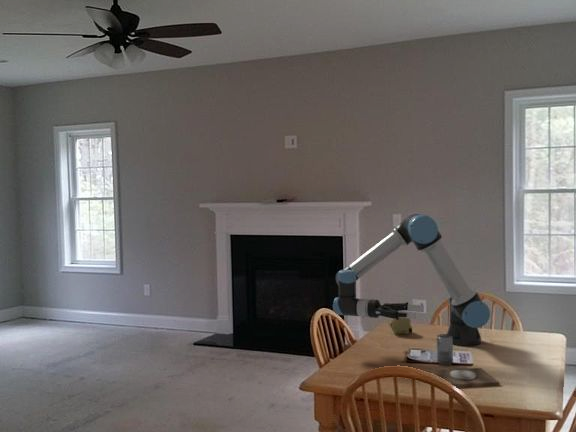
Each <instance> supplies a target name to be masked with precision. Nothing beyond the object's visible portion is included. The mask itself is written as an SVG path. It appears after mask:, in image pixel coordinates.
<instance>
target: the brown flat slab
mask: <svg viewBox="0 0 576 432" xmlns="http://www.w3.org/2000/svg"><path fill="white" fill-rule="evenodd" d="M429 372H430V373H433V374H435V375H437V376H439V377H441V378H443V379H445V380H446V381H448V382H450V383H451V384H452V385H454V386H456V387H458V388H457V389H460V388H476V387H477V388H478V387H479V388H480V387H496V386H500V381H499V380H497V379H496V378H495V377H494V376H492V375H490V374H489V373H488V372H487V371H485V370H484V369H483V368H482V367H476V368H475V367H474V368H453V369H450V368H449V369H433V370H432V369H431V370H428V373H429Z"/></svg>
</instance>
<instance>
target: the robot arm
mask: <svg viewBox="0 0 576 432" xmlns="http://www.w3.org/2000/svg"><path fill="white" fill-rule="evenodd" d="M442 239H443V235H442V234H441V233H440V231H439V226H438V224H437V222H436V221H435V219H434V218H432V217H431V216H430V215H426V214H418V213H415V214H414V213H413V214H411V215H409V216H407V217H406V218H405V219H403V220H402V221H401V222H400V223H399V224H397V225H396V226H395V227H394V228H392V231H391V233H390V234H388V235H387V236H386V237H384V238H383V239H382V240H380V241H379V242H378V243H376V244H374V245H373V246H372V247H371V248H369V249H368V250H367V251H366V252H365V253H363V254H362V255H360V257H358V258H356V259H355V260H353V262H351V263H350V264H348V266H346V267H345V268H343V269H340V270H339V271H338V272H337V273H336V274H335V283H336V284H337V286H338V296H337V297H335V298H334V300H333V302H332V303H333V304H332V311H333V312H334V313H335V315H341V316H345V317H346V316H350V317H361V319H364V318H368V317H369V318H373V319H374V318H375V319H378V318H379V317H384V318H389V319H390V318H393V319H396V320H399V318H408V319H410V320H412V319H413V320H416V319H417V317H416V316H417V314H416V313H417V312H418V313H424V312H425V310H424V309H425V308H424V305H421V304H409V302H402V303H394V302H393V303H387V302H386V303H383V304H381V302H380V300H379V299H369V298H357V281H358V280H359V279H361V277H362V278H363V276H364V275H366V274H368V272H369V271H371V270H372V269H373V268H375V267H377V266H379V264H380V263H382V262H383V261H384V260H386V259H387V258H388V257H390V256H391V255H392V254H394V253H395V252H397V251H398V250H399V249H401V248H402V247H403V246H406V247H407V246H408V245H410V244H411V243H413V245H414V246H415V247H416V249H417V250H418V251H419V252H421V253H423V254H424V255H425V257H426V260H427V261H428V262H429V264H430V265H431V266H432V269H433V270H434V272H435V273H436V275H437V276H438V277H439V279H440V281H441V283H442V285H443V286H444V287H445V289H446V291H447V292H448V294H449V297H448V300H449V302H448V303H449V326H448V330H447V331H446V334H448V335H451V336H452V337H453V345H456V346H460V347H461V346H464V347H467V346H468V347H470V346H478V345H481V343H482V337H481V334H480V331H479V328H482V327H484V326H485V325H486V324H487V323H488V322H489V320H490V317H491V309H490V308H489V306H488V305H487V303H486V302H484V301H483V300H482V298H481V297H480V296H479V294H478V292H477V290H475V289H472V288H471V287H470V286H469V284H468V283H467V281H466V279H465V277H464V276H463V275H462V273H461V271H460V270H459V269H458V267H457V265H456V264H455V262H454V260H453V259H452V257H451V255H450V254H449V252H448V250H447V249H446V248H445V246H444V244H443V243H442ZM398 312H399V313H398Z"/></svg>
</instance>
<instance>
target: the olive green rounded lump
mask: <svg viewBox="0 0 576 432" xmlns="http://www.w3.org/2000/svg"><path fill="white" fill-rule="evenodd" d="M398 313H399V311H398ZM387 323H388V324H389V327H390V329H391V331H392V332H393V334H394V335H397V334H398V335H410V334H412V333H413V327H412V323H411V319H408V318H399V320H396V319H393V318H389V319H388V320H387Z"/></svg>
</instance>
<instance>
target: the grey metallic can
mask: <svg viewBox="0 0 576 432" xmlns="http://www.w3.org/2000/svg"><path fill="white" fill-rule="evenodd" d="M453 345H454V344H453V337H452V336H451V335H448V334H447V333H442V334H441V333H440V334H437V335H436V355H437V357H436V359H437V362H438V363H439V364H441V365H440V366H442V365H451V364H452V363H453V364H454V349H453V348H454V347H453ZM437 362H436V363H437ZM451 366H452V365H451Z"/></svg>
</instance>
